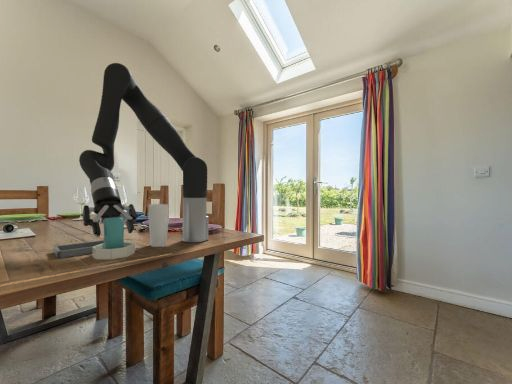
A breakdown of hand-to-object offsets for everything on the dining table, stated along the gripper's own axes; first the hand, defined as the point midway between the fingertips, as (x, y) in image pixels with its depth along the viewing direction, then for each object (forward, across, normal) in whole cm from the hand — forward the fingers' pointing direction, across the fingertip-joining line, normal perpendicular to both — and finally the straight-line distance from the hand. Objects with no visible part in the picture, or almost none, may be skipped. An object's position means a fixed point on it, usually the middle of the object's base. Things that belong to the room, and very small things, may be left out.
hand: (115, 233), depth 72 cm
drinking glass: (+2, +15, +9) cm, 17 cm away
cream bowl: (+4, 0, +6) cm, 7 cm away
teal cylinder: (+4, 0, +6) cm, 7 cm away
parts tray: (-3, -5, +13) cm, 15 cm away
